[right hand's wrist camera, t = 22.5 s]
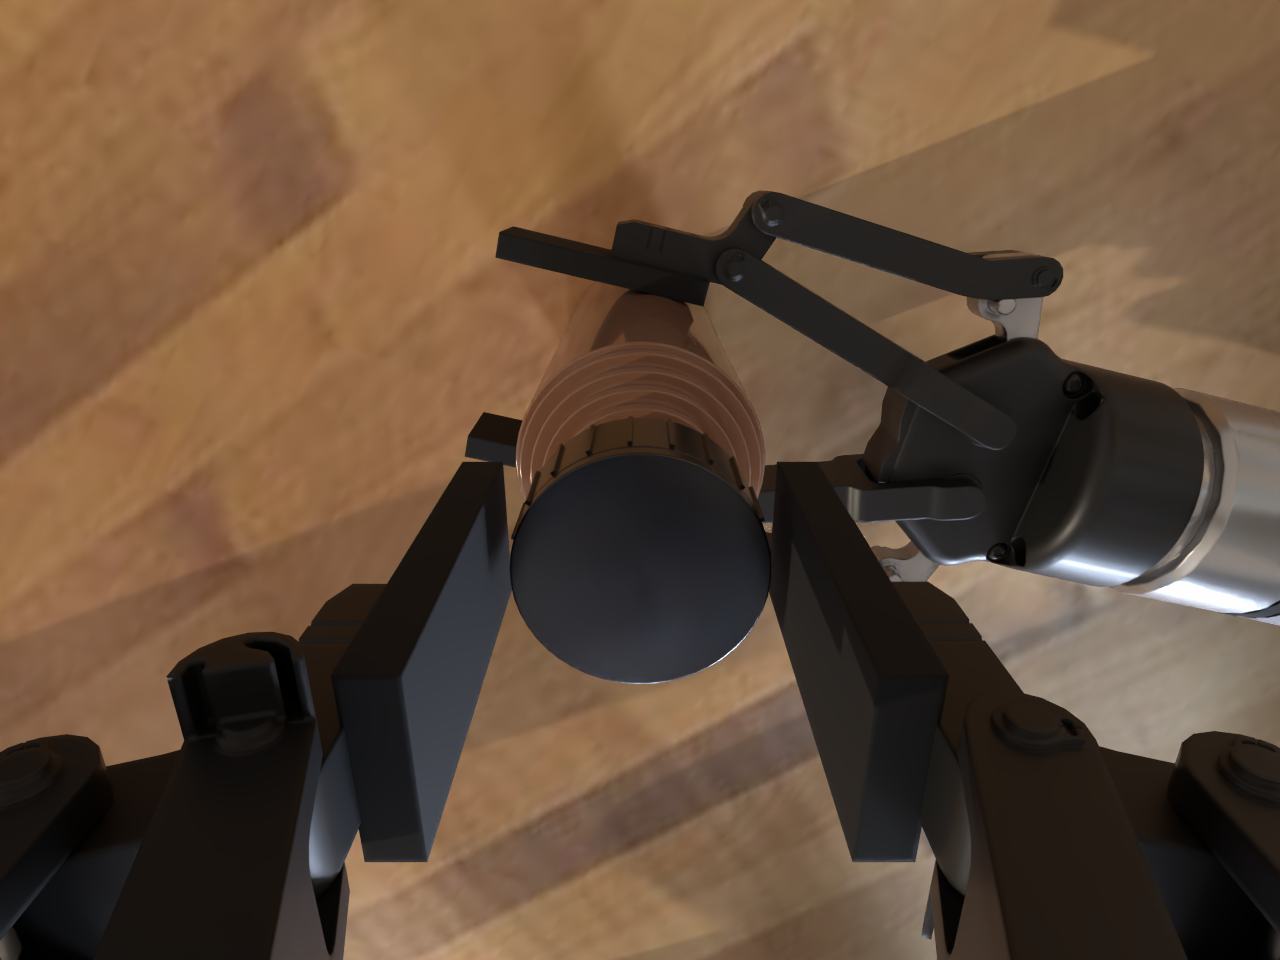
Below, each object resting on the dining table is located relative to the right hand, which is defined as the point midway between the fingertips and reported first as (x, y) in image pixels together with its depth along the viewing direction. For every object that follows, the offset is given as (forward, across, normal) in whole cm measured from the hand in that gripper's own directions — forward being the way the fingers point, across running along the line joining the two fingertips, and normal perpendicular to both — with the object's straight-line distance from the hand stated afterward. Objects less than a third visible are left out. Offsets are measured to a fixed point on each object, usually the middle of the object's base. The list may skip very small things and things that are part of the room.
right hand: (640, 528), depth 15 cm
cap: (-2, 0, 0) cm, 2 cm away
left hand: (+12, -5, +1) cm, 13 cm away
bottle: (+18, 0, 0) cm, 18 cm away
